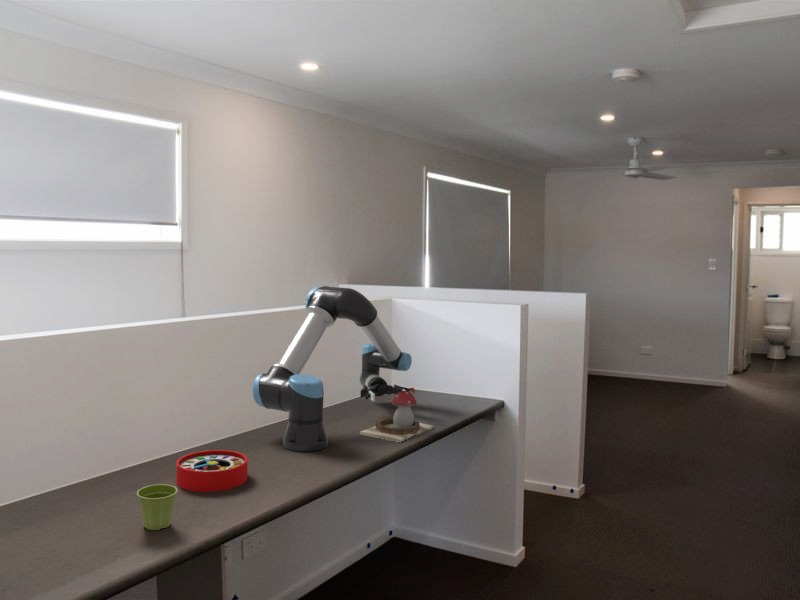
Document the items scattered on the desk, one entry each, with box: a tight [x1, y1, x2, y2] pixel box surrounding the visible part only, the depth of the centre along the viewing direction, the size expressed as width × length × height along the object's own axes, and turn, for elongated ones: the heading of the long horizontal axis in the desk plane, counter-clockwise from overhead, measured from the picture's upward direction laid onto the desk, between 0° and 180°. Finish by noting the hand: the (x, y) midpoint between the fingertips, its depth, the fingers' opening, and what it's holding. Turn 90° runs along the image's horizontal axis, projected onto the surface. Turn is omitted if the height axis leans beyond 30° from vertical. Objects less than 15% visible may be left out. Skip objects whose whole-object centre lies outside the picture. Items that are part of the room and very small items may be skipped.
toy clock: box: [175, 449, 249, 493], centre depth 203 cm, size 20×6×20 cm
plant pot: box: [136, 483, 179, 531], centre depth 170 cm, size 9×9×9 cm
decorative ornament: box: [391, 387, 417, 428], centre depth 260 cm, size 9×6×15 cm
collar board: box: [359, 417, 434, 443], centre depth 259 cm, size 24×17×3 cm
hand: (391, 397), depth 267 cm, fingers open, 13 cm apart
